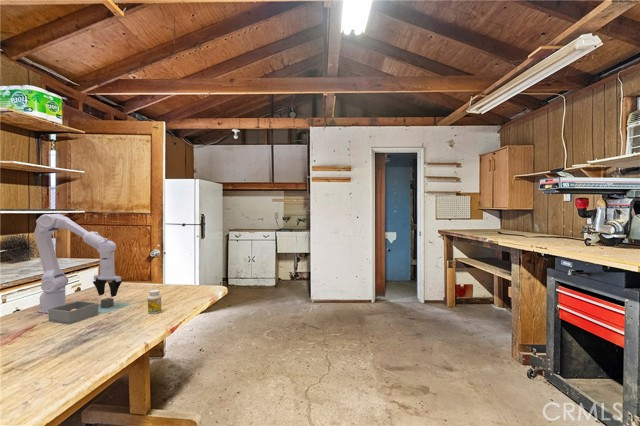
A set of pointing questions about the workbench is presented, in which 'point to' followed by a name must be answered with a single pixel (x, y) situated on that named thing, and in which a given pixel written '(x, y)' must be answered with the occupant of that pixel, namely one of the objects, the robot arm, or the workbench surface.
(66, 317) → the grey bin
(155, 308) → the supplement bottle
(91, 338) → the workbench surface
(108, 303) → the teal lid
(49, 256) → the robot arm
